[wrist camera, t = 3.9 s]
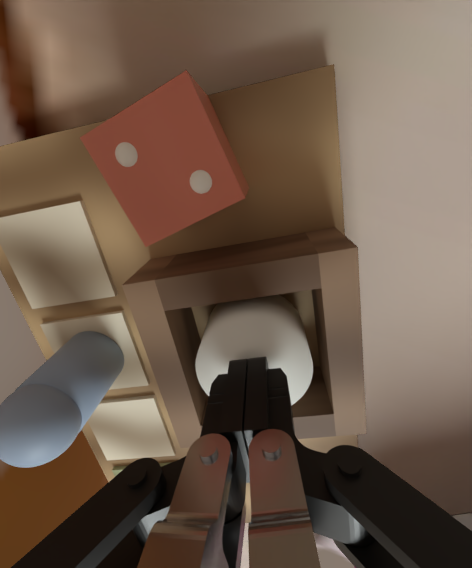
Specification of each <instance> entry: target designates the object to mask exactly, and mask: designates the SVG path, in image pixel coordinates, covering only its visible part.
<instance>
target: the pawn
mask: <svg viewBox="0 0 472 568" xmlns="http://www.w3.org/2000/svg"><path fill="white" fill-rule="evenodd" d="M123 366H124V356H123V353H122V351H121V349H120V347H119V346H118V345H117V344H116V343H115V342H114V341H113V340H112V339H111V338H109V337H108V336H106V335H104V334H101V333H98V332H94V331H84V332H80V333H78V334H76V335H75V336H73V337H72V338H71V339H70V340H69V341H68V342H67V343H66V344H65V345H63V346H62V347H61V348H60V349H59V350H58V351H57V352H56V353H55V354H54V355H53V356H52V357H50V358H49V359H48V360H47V361H46V362H45V363H44V364H43V365H42V366H41V367H40V368H39V369H38V370H36V371H35V372H34V373H33V374H32V375H31V376H30V377H29V378H28V379H27V380H25V381H24V382H23V383H22V384H21V385H20V386H19V387H18V388H17V389H16V390H15V392H14V393H12V394H11V395H9V396H8V397H7V398H6V399H5V400H4V401H3V402H2V403H1V405H0V459H1V460H2V461H4V462H5V463H7V464H9V465H12V466H16V467H35V466H39V465H42V464H45V463H47V462H50V461H52V460H53V459H55V458H57V457H58V456H59V455H61V454H62V453H63V452H64V451H65V450H66V449H67V448H68V447H69V446H70V445H71V444H72V443H73V441H74V440H75V438H76V436H77V434H78V433H79V432H80V430H82V428H83V427H84V425H85V424H86V422H87V421H88V419H89V418H90V416H91V415H92V413H93V412H94V411H95V409H96V408H97V406H98V405H99V403H100V402H101V400H102V399H103V397H104V396H105V394H106V393H107V391H108V390H109V388H110V387H111V386H112V384H113V383H114V381H115V380H116V378H117V377H118V375H119V374H120V372H121V371H122V369H123Z"/></svg>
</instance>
